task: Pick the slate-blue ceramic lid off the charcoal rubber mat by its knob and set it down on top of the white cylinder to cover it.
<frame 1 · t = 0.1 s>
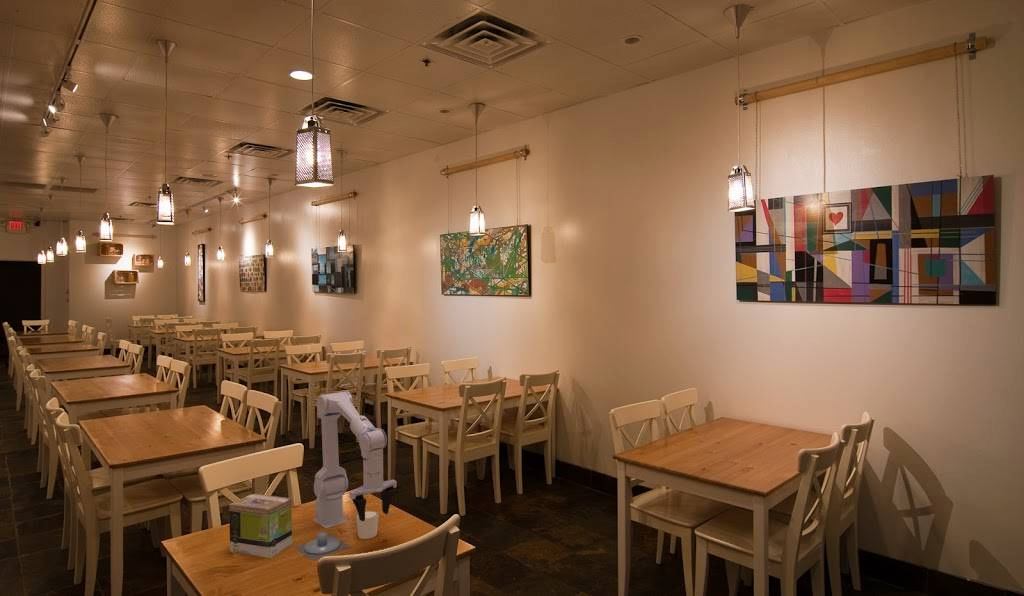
hand: (373, 516, 171), 10 cm above the table, tool pointing down, fingers open, 7 cm apart
tea box: (261, 549, 172), on the table
white cylinder: (367, 537, 181), on the table
mat: (322, 549, 172), on the table
lid: (322, 547, 172), point 1 cm above the table, touching mat
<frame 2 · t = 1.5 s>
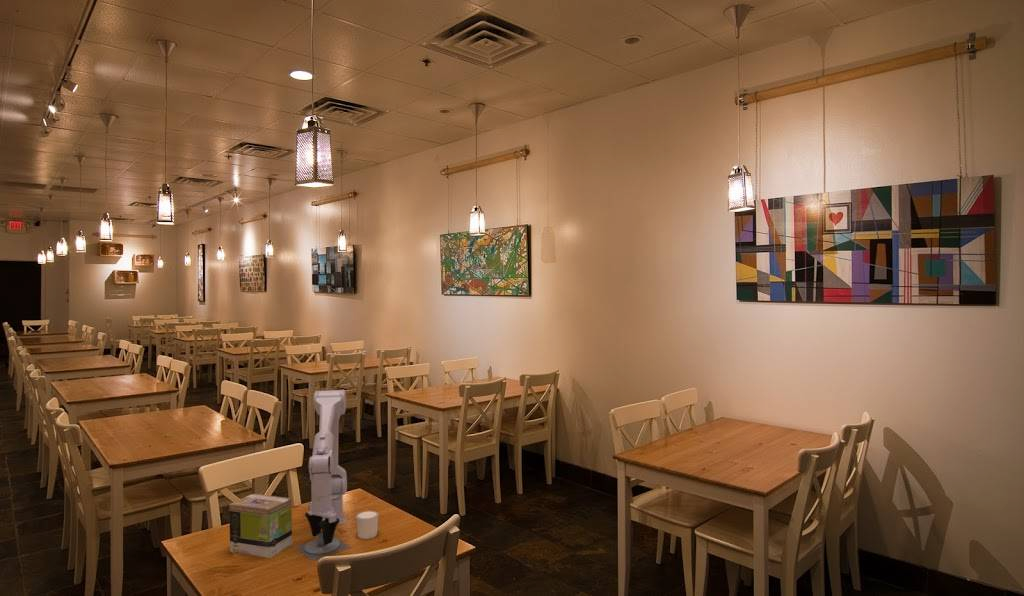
hand: (322, 539, 172), 3 cm above the table, tool pointing down, fingers open, 7 cm apart
nothing on the table moved.
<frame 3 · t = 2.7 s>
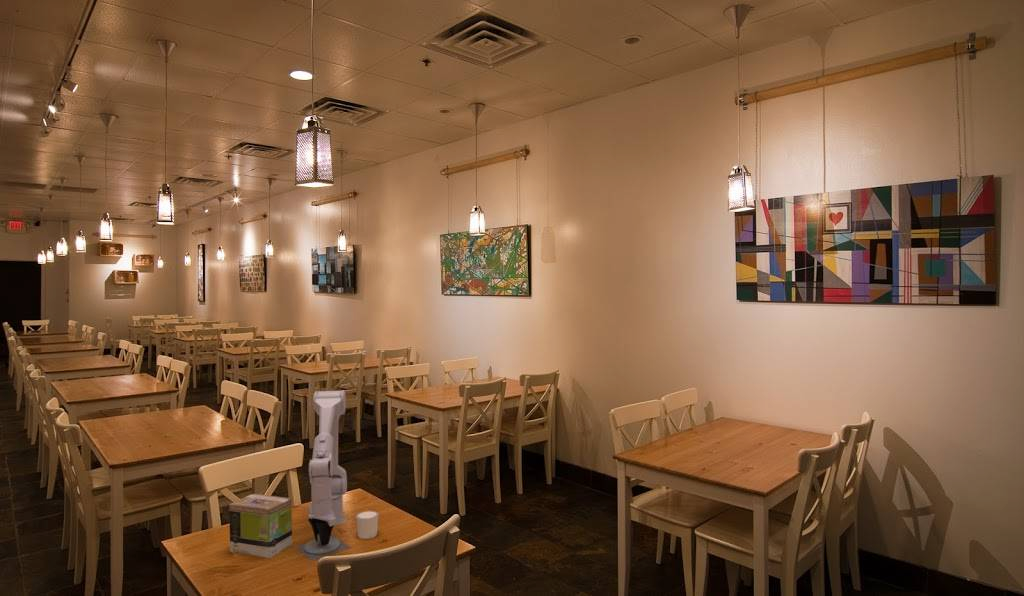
hand: (322, 542, 172), 2 cm above the table, tool pointing down, fingers closed on lid, 3 cm apart
lid: (322, 547, 172), point 1 cm above the table, touching gripper, mat
everything else where it was.
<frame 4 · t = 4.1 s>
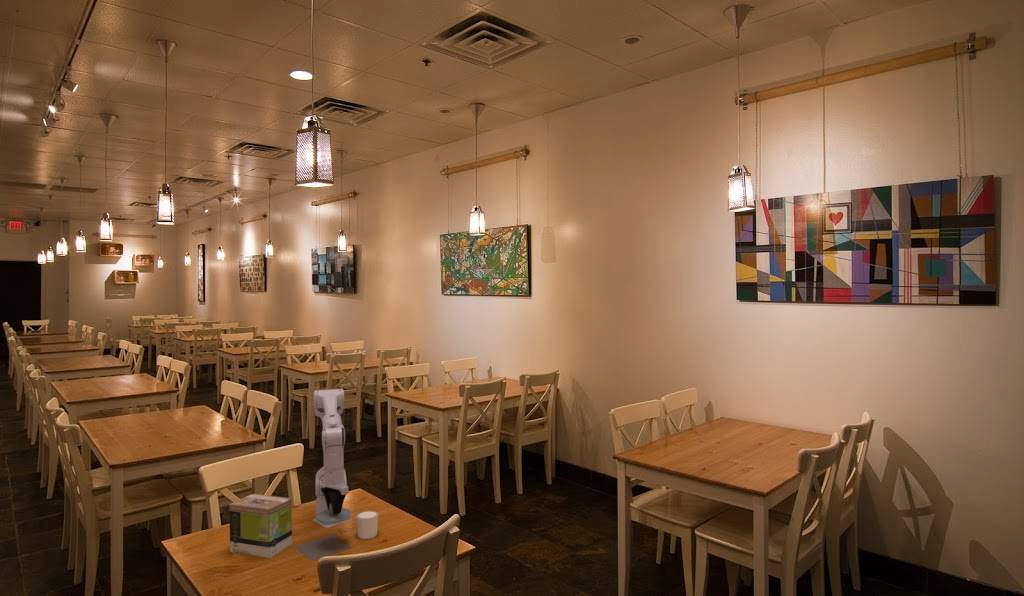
hand: (334, 511, 174), 10 cm above the table, tool pointing down, fingers closed on lid, 3 cm apart
lid: (334, 516, 174), point 9 cm above the table, touching gripper
everything else where it was.
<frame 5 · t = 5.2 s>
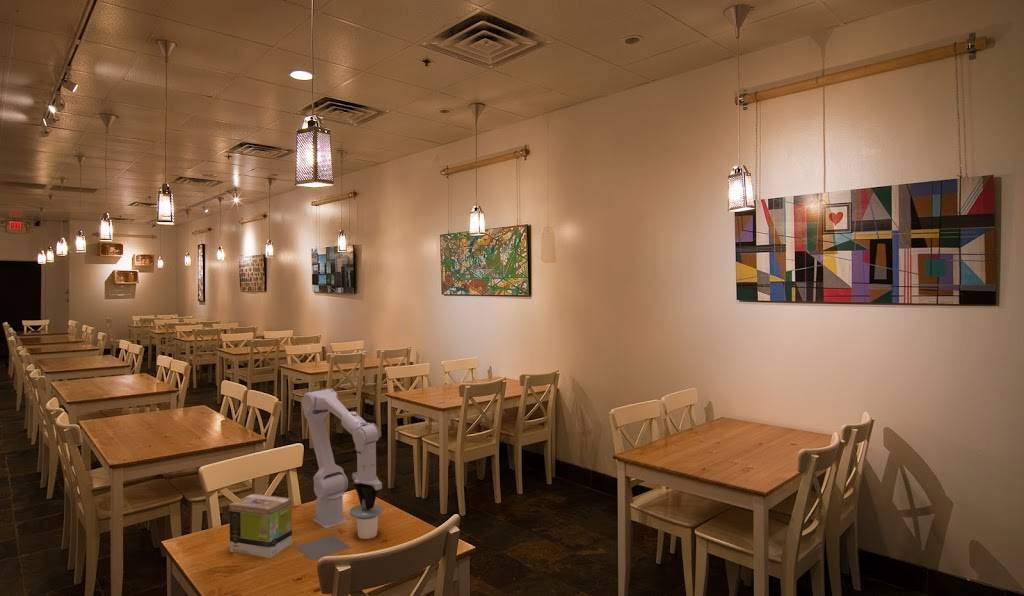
hand: (367, 506, 180), 9 cm above the table, tool pointing down, fingers closed on lid, 3 cm apart
lid: (366, 512, 180), point 8 cm above the table, touching gripper
everything else where it was.
when the fingers open (9 cm above the table, at t = 5.7 s): lid stays where it is, resting on white cylinder.
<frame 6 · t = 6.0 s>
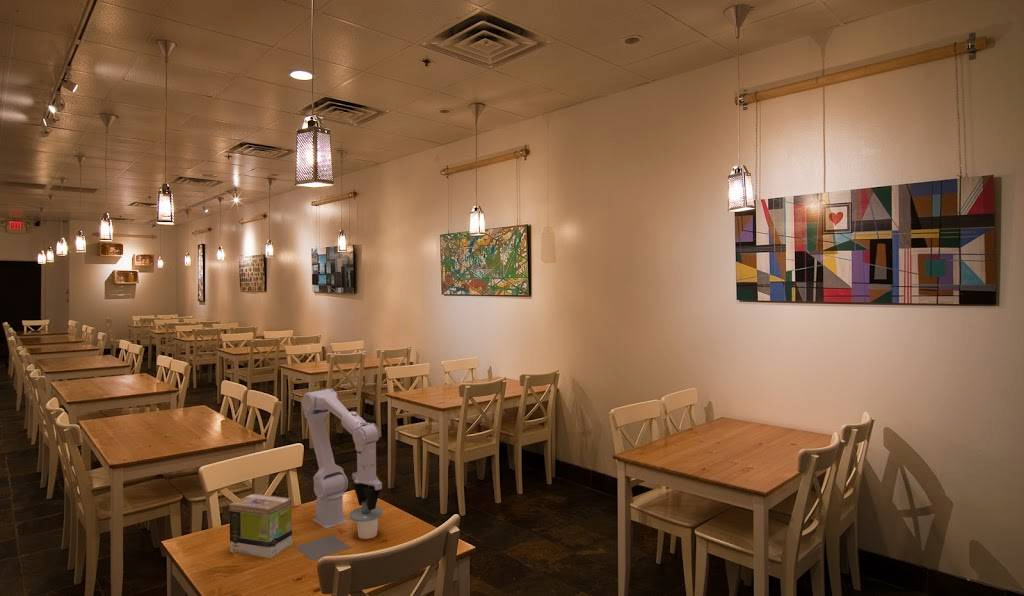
hand: (367, 506, 180), 9 cm above the table, tool pointing down, fingers open, 5 cm apart
white cylinder: (367, 537, 181), on the table, touching lid
lid: (366, 514, 180), point 7 cm above the table, touching white cylinder
everything else where it was.
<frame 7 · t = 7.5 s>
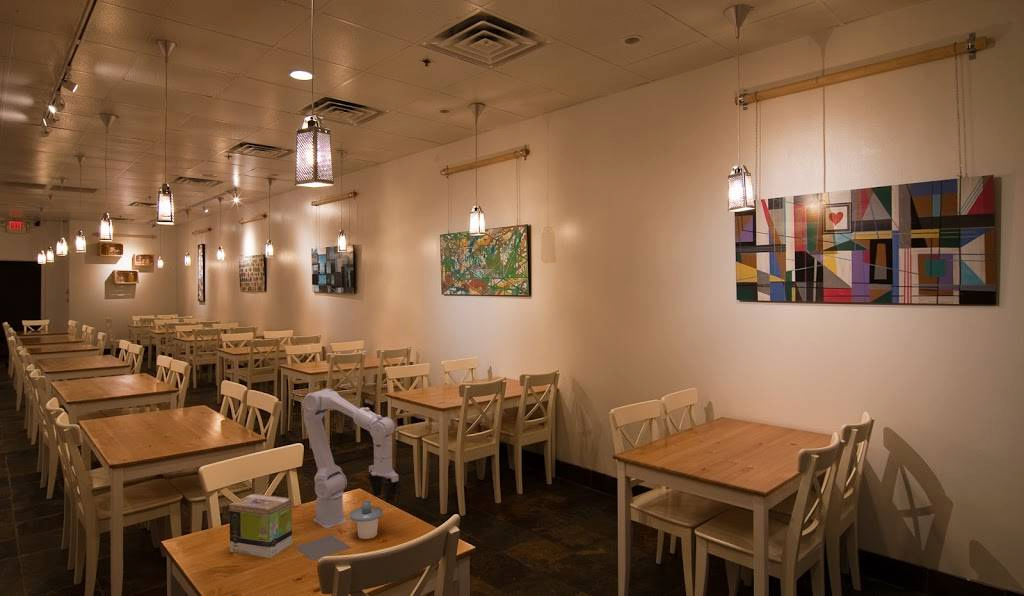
hand: (383, 498, 184), 10 cm above the table, tool pointing down, fingers open, 7 cm apart
nothing on the table moved.
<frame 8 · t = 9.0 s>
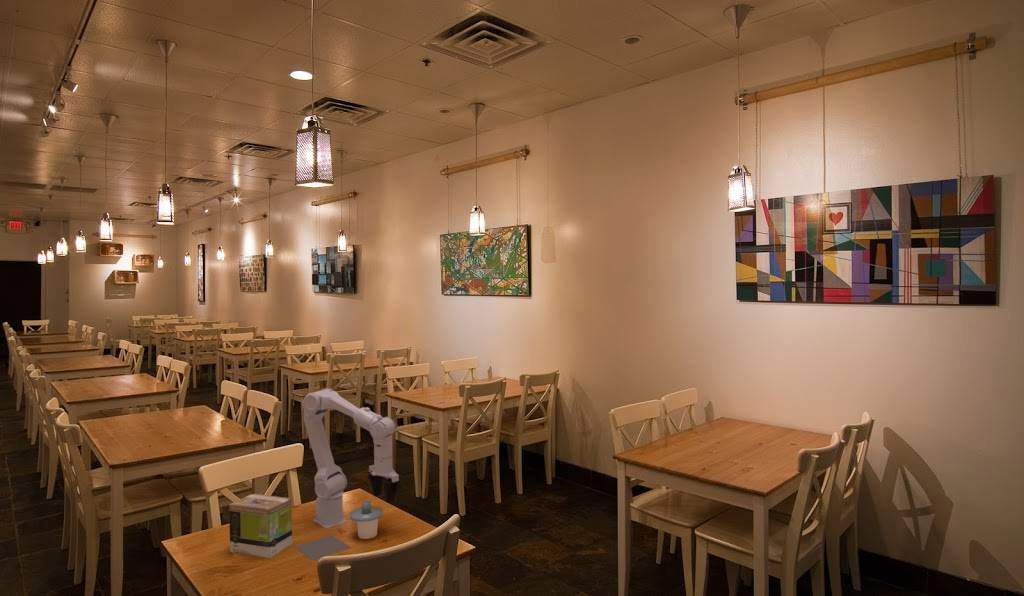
hand: (383, 498, 184), 10 cm above the table, tool pointing down, fingers open, 7 cm apart
nothing on the table moved.
at the end: lid 0.4 cm from the white cylinder (horizontally); lid point 7.0 cm above the table; lid tilted 0° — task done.
